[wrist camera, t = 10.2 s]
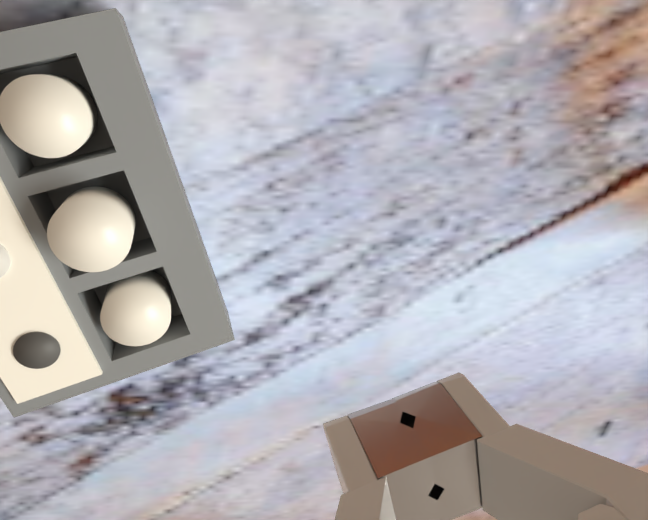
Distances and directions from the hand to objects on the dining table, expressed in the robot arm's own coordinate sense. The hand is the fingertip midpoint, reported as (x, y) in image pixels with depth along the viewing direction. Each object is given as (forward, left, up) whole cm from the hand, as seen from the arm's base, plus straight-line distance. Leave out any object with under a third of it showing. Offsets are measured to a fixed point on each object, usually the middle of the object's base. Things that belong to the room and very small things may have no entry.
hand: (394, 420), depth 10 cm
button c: (+9, +5, -23) cm, 25 cm away
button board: (+11, -1, -25) cm, 27 cm away
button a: (+9, -7, -23) cm, 26 cm away
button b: (+9, -1, -22) cm, 23 cm away
